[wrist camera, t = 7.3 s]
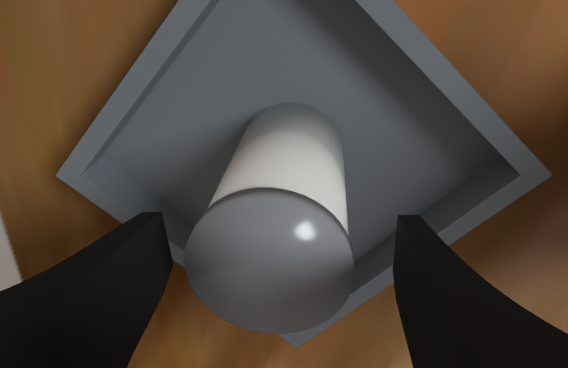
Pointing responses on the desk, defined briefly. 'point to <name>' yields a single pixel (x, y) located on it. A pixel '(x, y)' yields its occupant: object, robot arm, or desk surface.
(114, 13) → the desk surface
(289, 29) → the tray
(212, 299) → the shaker
